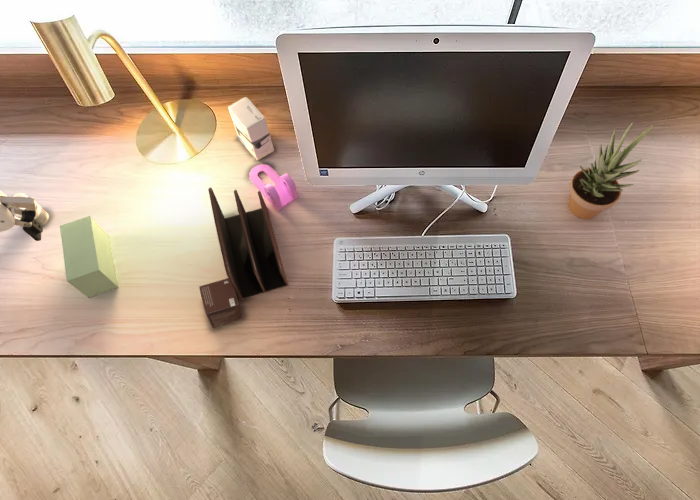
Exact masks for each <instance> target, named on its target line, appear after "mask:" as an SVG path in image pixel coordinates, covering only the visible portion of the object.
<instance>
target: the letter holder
mask: <svg viewBox="0 0 700 500" xmlns="http://www.w3.org/2000/svg"><path fill="white" fill-rule="evenodd" d="M207 190H208V194H209V200H210V205H211V210H212V215H213V220H214V225H215V229H216V230H215V231H216V234H217V238H218V244H219V248H220V253H221V257H222V261H223V266H224V270H225V273H226V276H227V278H229V280H230V282H231V284H232V286H233V287H234V289H235V292H236V295H237V298H238V300H240V301H242V300H245V299H249V298H252V297H254V296H258V295H261V294H266V293H269V292H271V291H275V290H277V289H282V288H284V287H289V283H288V279H287V275H286V273H285V268H284V265H283V264H284V263H283V261H282V258H281V257H282V256H281V254H280V251H279V247H278V242H277V239H276V236H275V232H274V228H273V224H272V221H271V218H270V214H269V210H268V207H267V205H266V204H267V203H266V201H265V199H264V197H263V194H262V193H261V192H260V191H259V190H258V191H257V194H258V195H257V196H258V199H259V202H260V208H257V209H253V210H250V211H246V209H245V207H244V205H243V203H242V200H241V198H240V195H239V193H238V190H237V189H234V190H233V195H234V199H235V202H236V209H237V212H238V214H236V215H231V216H228V217H225V215H224V213H223V211H222V209H221V206H220V204H219V202H218V199H217V197H216V194H215V192H214V190H213V188H212V187H211V186H210V187H209V188H208V189H207Z"/></svg>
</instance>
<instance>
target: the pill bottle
mask: <svg viewBox="0 0 700 500" xmlns="http://www.w3.org/2000/svg"><path fill="white" fill-rule="evenodd" d="M11 197H28V195H26V193H23V192H18V193H14V194H13V195H11ZM35 204H36V216H35V218H34V219H36V220H37V221H38V222H39V223H40V224H41V225H42V227H44V226H45V225H46V224H47V223H48V221H49V218H50V217H49V216H50V215H49V213H48V212H47V211H46V210H45V209H43V207H42V206H41V205H40V204H38V203H37V202H36V201H35ZM24 209H25V208H24ZM14 217H15V218H19V219H22V215H19V214H14Z"/></svg>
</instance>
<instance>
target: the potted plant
mask: <svg viewBox="0 0 700 500" xmlns="http://www.w3.org/2000/svg"><path fill="white" fill-rule="evenodd" d="M633 125H634V122H631V123H630V124H629V126H628V127H627V128H626V130H625V131H624V133H623V134H622V137H620V138H621V139H620V140H619V142H618V143H617V146H616V148H615V139H616V131H617V130H616V128H615V129H613V133H612V134H611V138H610V141H609V144H606V145H605V149H604V150H603V146H602V145H603V144H600V145H599V148H598V154H597V160H596V159H594V162H593V163H592V162H591V163H590V166H588V168H584V167H582V165H579V168H580V170H579V171H577V172H576V173H575V174H574V175H573V176H572V178H571V180H570V181H569V185H568V187H569V189H568V190H569V191H568V192H569V197H568V202H567V203H568V204H567V205H568V208H569V211H570V213H571V214H572V215H573V216H574V217H576V218H578V219H581V220H582V219H583V220H590V219H592V218H595V217H596V216H597V215H598V214H600V213H601V212H603V211H606V210H609V209H611V208H613V207H614V206H615V205H616V204H617V203H618V202H619V200H620V198H621V196H622V191H624V189H623V188H628V187H631V186H634V183H629V184H620V183H619V182H618V180H621V179H624V178H627V177H630V176H632V175H635V174H637V173H638V172H639V171H640V169H637V170H632V171H631V170H630V171H628V170H629V169H631V168H634V167H636V166H637V165H639V163H641V162H642V161H643V159H639V160H637V161H633V162H630V163H626V164H622V163H623V162H624V160H625V159H627V157H628V155H629V154H630V153H631V152H632V151H633V149H635V147H636V146H637V145H638V144H639V143H640V142H641V141H642V140H643V139H644V138H645V137H646V135H647V134H648V133H649V132H650V131H651V129H652V128H653V126H654V125H653V124H652V125H650V126H649V127H648V128H647V129H646V130H644V131H643V132H641V134H640V135H638V136H637V137H636V138H635V139H634V140H633V141H632V142H631V143H630V144H629V145H628V146H627V147H626V148H624V149H623V150H622V151H621V148H622V146H623V144H624V142H625V140H626V138H627V136H628V134H629V132H630V130H631V128H632V126H633ZM603 151H604V152H603Z"/></svg>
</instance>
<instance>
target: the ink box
mask: <svg viewBox="0 0 700 500" xmlns="http://www.w3.org/2000/svg"><path fill="white" fill-rule="evenodd" d="M227 108H228V111H229V114H230V117H231V120H232V123H233V125H234V129H235V131H236V134H237V138H238V140H239V141H240V142H241V144H242V145H243V146H244V147H245V149H247V150H248V152H249V153H250V154H251V155H252V157H254V159H255V160H257V161H259V160H261V159H263V158H264V157H266V156H268V155H270V154H271V153H273V152H275V148H274V144H273V141H272V137H271V134H270V130H269V127H268V122H267V119H266V118H265V116H264V115H263V113H262V112H261V111H260V110H259V109H258V108H257V106H256V105H254V103H253V102H252V101H251V100H250V99H249V98H248V97H247V96H244V97H242V98H240V99H239V100H237V101H234V102H233V103H231V104H229V105H228V106H227Z"/></svg>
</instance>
